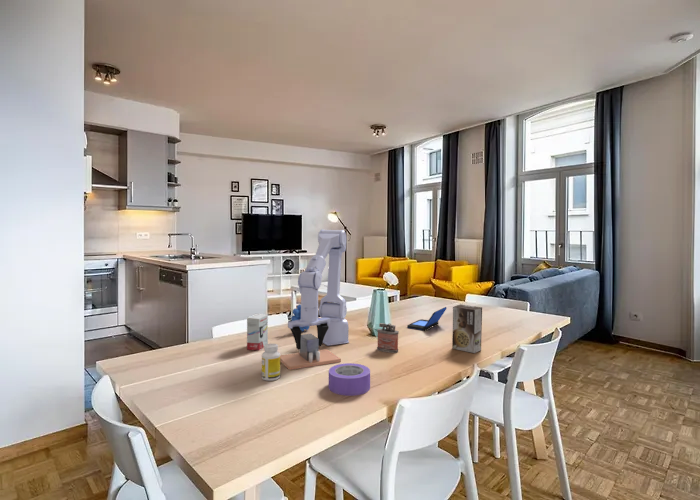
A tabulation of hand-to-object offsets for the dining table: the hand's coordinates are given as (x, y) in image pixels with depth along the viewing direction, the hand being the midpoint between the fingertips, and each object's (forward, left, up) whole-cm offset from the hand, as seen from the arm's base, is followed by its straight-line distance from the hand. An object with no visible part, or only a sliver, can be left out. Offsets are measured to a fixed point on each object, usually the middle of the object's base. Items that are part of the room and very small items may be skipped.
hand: (309, 347), depth 134 cm
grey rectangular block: (0, 0, -3) cm, 4 cm away
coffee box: (-58, +13, -5) cm, 60 cm away
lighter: (-30, +2, -5) cm, 30 cm away
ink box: (+12, -22, -5) cm, 25 cm away
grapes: (-11, -35, -5) cm, 37 cm away
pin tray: (0, 0, -4) cm, 4 cm away
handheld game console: (-66, -21, -5) cm, 69 cm away
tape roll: (-2, +26, -5) cm, 27 cm away
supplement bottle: (+16, +10, -5) cm, 19 cm away
